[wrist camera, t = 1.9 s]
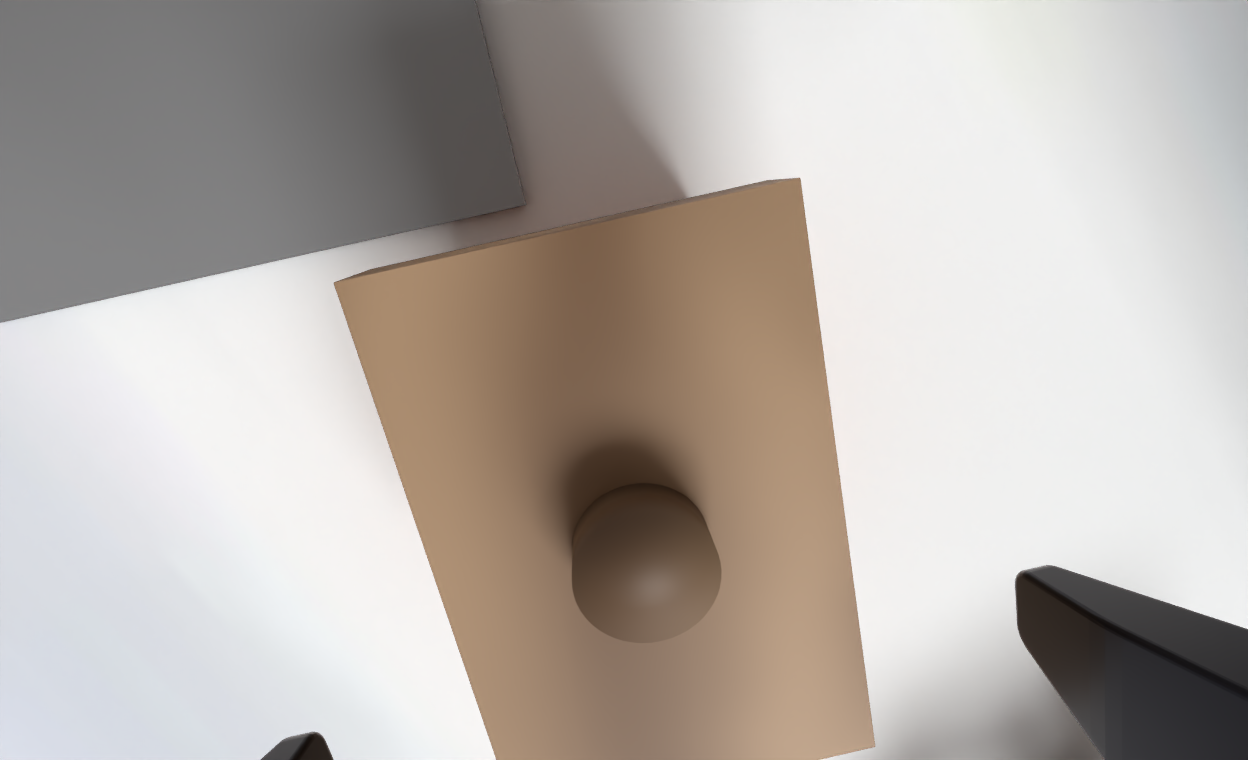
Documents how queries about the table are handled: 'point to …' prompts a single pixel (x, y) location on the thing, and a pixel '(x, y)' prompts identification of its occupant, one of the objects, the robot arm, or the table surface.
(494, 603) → the lid
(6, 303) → the mat
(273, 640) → the table surface
